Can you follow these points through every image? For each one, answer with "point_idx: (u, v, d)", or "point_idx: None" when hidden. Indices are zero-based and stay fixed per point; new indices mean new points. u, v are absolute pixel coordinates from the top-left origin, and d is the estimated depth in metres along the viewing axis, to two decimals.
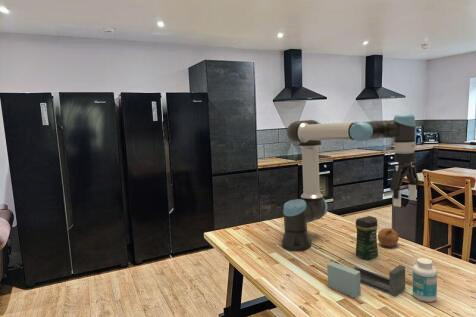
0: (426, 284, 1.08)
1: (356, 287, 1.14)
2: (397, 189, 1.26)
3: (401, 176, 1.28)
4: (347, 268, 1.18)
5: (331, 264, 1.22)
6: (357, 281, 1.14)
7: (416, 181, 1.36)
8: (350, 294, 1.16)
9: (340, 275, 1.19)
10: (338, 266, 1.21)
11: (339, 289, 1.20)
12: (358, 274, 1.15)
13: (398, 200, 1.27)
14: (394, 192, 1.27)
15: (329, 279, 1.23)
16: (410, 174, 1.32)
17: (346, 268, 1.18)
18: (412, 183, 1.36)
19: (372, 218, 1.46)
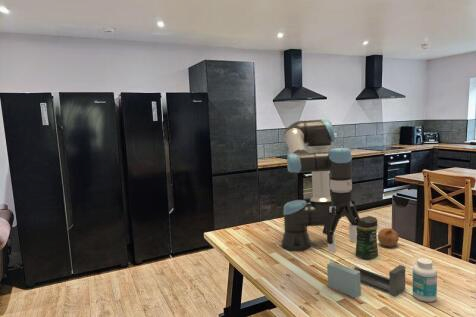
0: (426, 284, 1.08)
1: (356, 287, 1.14)
2: (330, 233, 1.11)
3: (336, 218, 1.13)
4: (347, 268, 1.18)
5: (331, 264, 1.22)
6: (357, 281, 1.14)
7: (357, 221, 1.22)
8: (350, 294, 1.16)
9: (340, 276, 1.19)
10: (337, 266, 1.20)
11: (339, 289, 1.20)
12: (358, 274, 1.15)
13: (332, 245, 1.13)
14: (328, 236, 1.13)
15: (329, 279, 1.23)
16: (349, 214, 1.18)
17: (346, 268, 1.18)
18: (353, 223, 1.22)
19: (372, 218, 1.46)
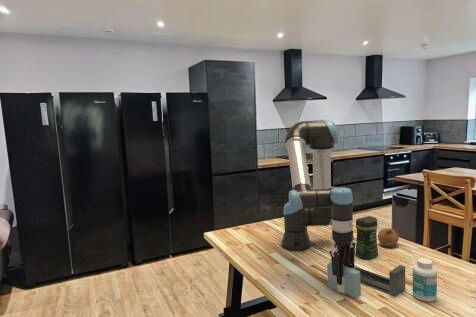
0: (426, 285, 1.08)
1: (356, 287, 1.14)
2: (340, 275, 1.16)
3: (341, 259, 1.16)
4: (347, 268, 1.18)
5: (331, 264, 1.22)
6: (357, 281, 1.14)
7: (351, 266, 1.21)
8: (350, 294, 1.16)
9: None
10: None
11: None
12: (358, 274, 1.15)
13: (342, 286, 1.18)
14: (337, 277, 1.17)
15: (329, 278, 1.23)
16: (347, 255, 1.19)
17: (346, 268, 1.18)
18: None
19: (372, 218, 1.46)
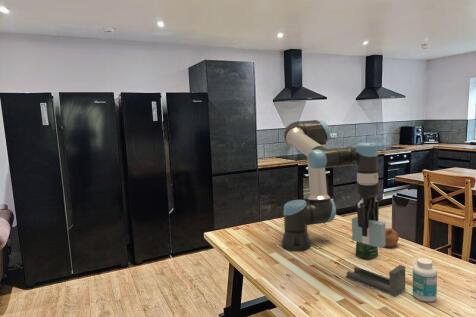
0: (426, 285, 1.08)
1: (381, 237, 1.18)
2: (365, 226, 1.20)
3: (366, 211, 1.20)
4: (372, 221, 1.22)
5: (356, 218, 1.26)
6: (382, 232, 1.18)
7: None
8: (375, 245, 1.20)
9: None
10: None
11: None
12: (383, 225, 1.19)
13: (367, 238, 1.21)
14: (362, 229, 1.21)
15: (354, 232, 1.27)
16: (372, 208, 1.22)
17: (371, 221, 1.22)
18: None
19: None
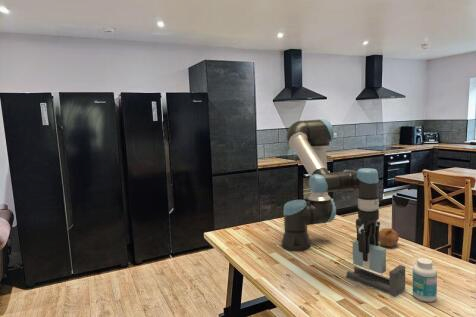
0: (426, 284, 1.08)
1: (382, 263, 1.19)
2: (366, 252, 1.21)
3: (366, 237, 1.21)
4: (372, 245, 1.23)
5: (356, 242, 1.27)
6: (383, 257, 1.19)
7: (376, 244, 1.26)
8: (376, 270, 1.21)
9: None
10: None
11: None
12: (384, 251, 1.20)
13: (367, 263, 1.23)
14: (363, 254, 1.22)
15: (354, 256, 1.28)
16: (372, 233, 1.24)
17: (371, 245, 1.23)
18: None
19: None
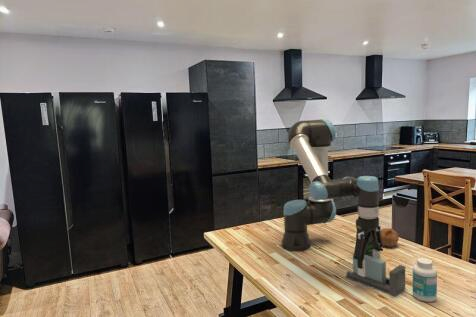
0: (426, 285, 1.08)
1: (382, 276, 1.20)
2: (361, 259, 1.19)
3: (364, 243, 1.21)
4: (372, 258, 1.24)
5: None
6: (383, 270, 1.20)
7: (381, 246, 1.28)
8: None
9: (365, 265, 1.24)
10: None
11: None
12: (384, 263, 1.20)
13: (362, 270, 1.21)
14: (358, 261, 1.20)
15: (354, 268, 1.28)
16: (374, 239, 1.25)
17: (371, 258, 1.24)
18: (376, 249, 1.28)
19: None
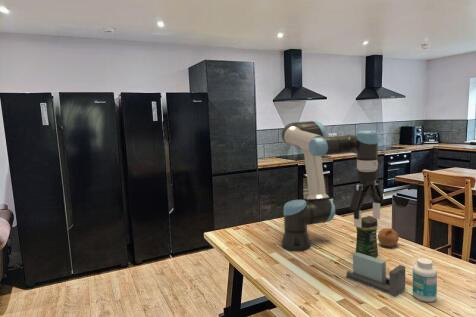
0: (426, 285, 1.08)
1: (382, 276, 1.20)
2: (357, 209, 1.21)
3: (362, 195, 1.22)
4: (372, 258, 1.24)
5: (356, 254, 1.28)
6: (383, 270, 1.20)
7: (381, 199, 1.31)
8: None
9: (365, 265, 1.24)
10: (363, 256, 1.26)
11: None
12: (384, 263, 1.20)
13: (358, 220, 1.22)
14: (354, 212, 1.22)
15: (354, 268, 1.28)
16: (373, 192, 1.27)
17: (371, 258, 1.24)
18: (376, 201, 1.31)
19: (372, 218, 1.46)
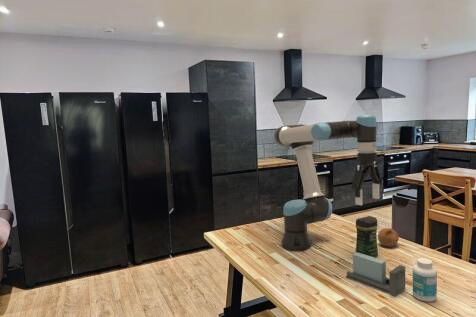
0: (426, 284, 1.08)
1: (382, 276, 1.20)
2: (358, 188, 1.29)
3: (363, 175, 1.31)
4: (372, 258, 1.24)
5: (356, 254, 1.28)
6: (383, 270, 1.20)
7: (380, 180, 1.39)
8: None
9: (365, 265, 1.24)
10: (363, 256, 1.26)
11: None
12: (384, 263, 1.20)
13: (360, 199, 1.30)
14: (356, 191, 1.30)
15: (354, 268, 1.28)
16: (373, 173, 1.35)
17: (371, 258, 1.24)
18: (376, 182, 1.39)
19: (372, 218, 1.46)
